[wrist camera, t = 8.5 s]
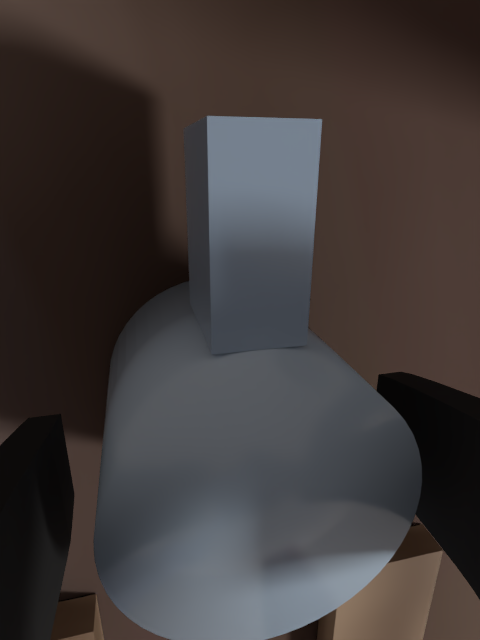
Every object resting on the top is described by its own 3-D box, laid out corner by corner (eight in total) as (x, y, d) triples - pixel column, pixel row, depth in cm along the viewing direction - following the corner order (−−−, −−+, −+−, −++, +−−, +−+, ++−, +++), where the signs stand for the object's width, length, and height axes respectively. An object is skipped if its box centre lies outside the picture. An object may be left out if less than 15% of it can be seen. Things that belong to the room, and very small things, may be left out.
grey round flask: (300, 441, 14) (398, 605, 9) (119, 469, 12) (113, 678, 7) (320, 136, 10) (494, 117, 6) (80, 132, 9) (24, 102, 4)
